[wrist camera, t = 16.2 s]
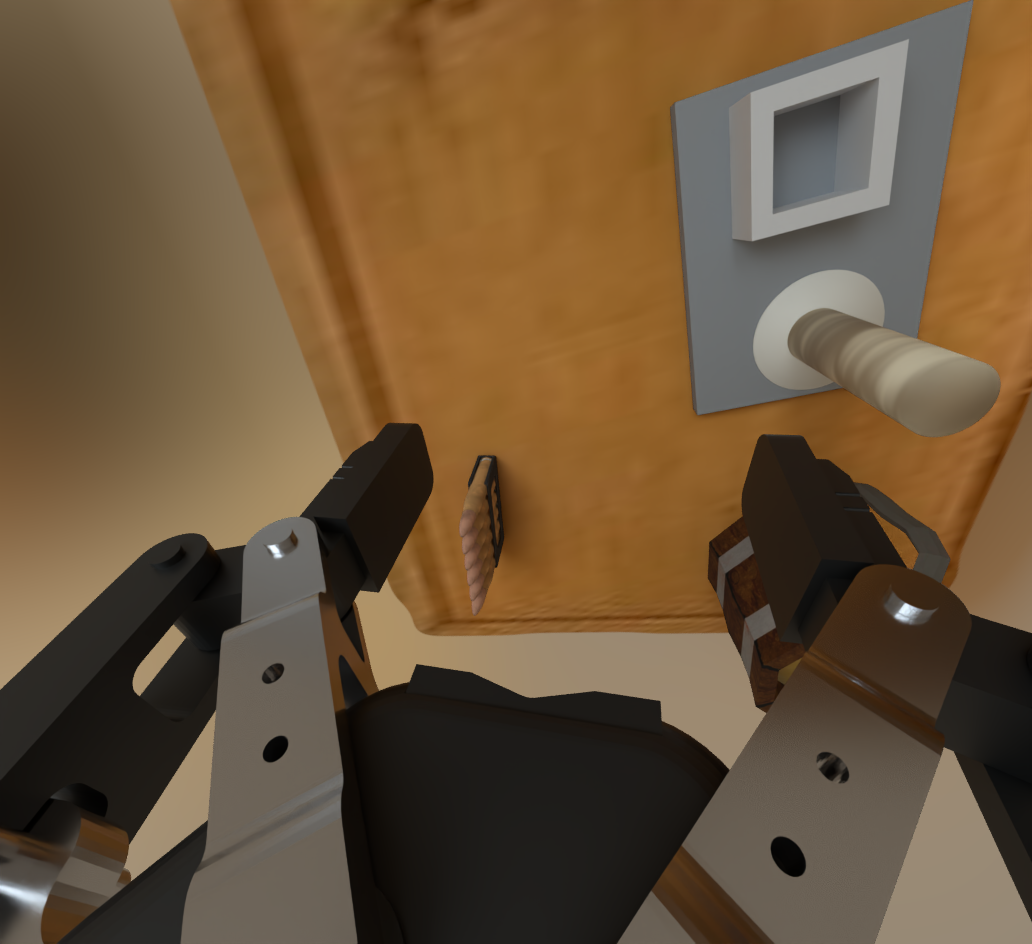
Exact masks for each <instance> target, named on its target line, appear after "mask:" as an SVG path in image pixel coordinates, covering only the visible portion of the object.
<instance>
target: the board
mask: <svg viewBox="0 0 1032 944" xmlns="http://www.w3.org/2000/svg"><path fill="white" fill-rule="evenodd" d="M972 5H973V0H971V1H968V2H965V3H962V4H959V5H956V6H953V7H950V8H948V9H945V10H942V11H939V12H936V13H933V14H930V15H927V16H924V17H922V18H919V19H916V20H913V21H910V22H907V23H904V24H901V25H898V26H895V27H893V28H890V29H887V30H884V31H881V32H878V33H875V34H872V35H869V36H866V37H864V38H861V39H858V40H855V41H852V42H849V43H846V44H843V45H840V46H837V47H835V48H832V49H829V50H826V51H823V52H820V53H817V54H814V55H811V56H808V57H806V58H803V59H800V60H797V61H794V62H791V63H788V64H785V65H782V66H780V67H777V68H774V69H771V70H768V71H765V72H762V73H759V74H756V75H753V76H751V77H748V78H745V79H742V80H739V81H736V82H733V83H730V84H727V85H724V86H722V87H719V88H716V89H713V90H710V91H707V92H704V93H701V94H698V95H695V96H693V97H690V98H687V99H684V100H681V101H678V102H675V103H674V104H673V105H672V106H671V107H670V111H671V124H672V137H673V150H674V163H675V176H676V189H677V202H678V215H679V228H680V241H681V254H682V267H683V280H684V293H685V306H686V319H687V332H688V345H689V358H690V371H691V384H692V397H693V409H694V410H695V412H696V414H697V415H701V414H706V413H712V412H717V411H722V410H728V409H733V408H738V407H744V406H749V405H754V404H760V403H765V402H770V401H776V400H781V399H786V398H792V397H797V396H802V395H807V394H813V393H818V392H823V391H829V390H834V389H839V388H843V387H841V386H840V385H838V384H837V383H835V382H833V381H832V380H830V379H829V378H827V377H825V376H824V375H822V374H821V373H819V372H818V371H816V370H814V369H813V368H811V367H810V366H808V365H806V364H805V363H803V362H802V361H800V360H798V359H797V358H795V357H794V356H793V355H792V354H791V353H790V351H789V349H788V344H787V340H788V335H789V332H790V330H791V328H792V326H793V325H794V324H795V322H796V321H797V320H798V319H799V318H800V317H802V316H803V315H804V314H806V313H808V312H810V311H812V310H815V309H819V308H830V309H833V310H836V311H839V312H842V313H845V314H848V315H850V316H853V317H856V318H859V319H862V320H865V321H867V322H870V323H873V324H876V325H879V326H882V327H884V328H887V329H890V330H893V331H896V332H899V333H902V334H904V335H907V336H910V337H913V338H916V339H917V335H918V329H919V323H920V317H921V311H922V305H923V299H924V293H925V287H926V281H927V275H928V269H929V263H930V257H931V251H932V245H933V239H934V233H935V227H936V221H937V215H938V209H939V203H940V197H941V191H942V185H943V179H944V173H945V167H946V161H947V155H948V149H949V143H950V137H951V131H952V125H953V119H954V113H955V107H956V101H957V95H958V89H959V83H960V77H961V71H962V65H963V59H964V53H965V47H966V41H967V35H968V29H969V23H970V17H971V11H972Z"/></svg>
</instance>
